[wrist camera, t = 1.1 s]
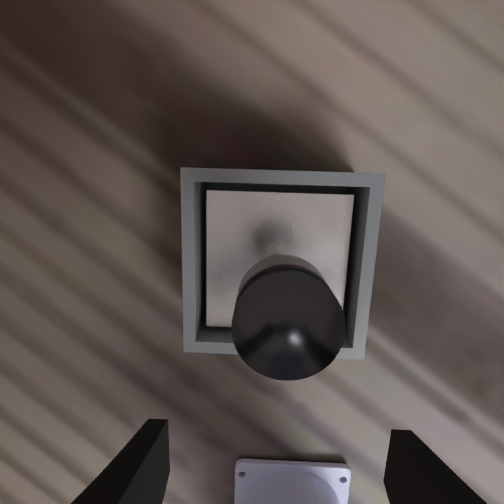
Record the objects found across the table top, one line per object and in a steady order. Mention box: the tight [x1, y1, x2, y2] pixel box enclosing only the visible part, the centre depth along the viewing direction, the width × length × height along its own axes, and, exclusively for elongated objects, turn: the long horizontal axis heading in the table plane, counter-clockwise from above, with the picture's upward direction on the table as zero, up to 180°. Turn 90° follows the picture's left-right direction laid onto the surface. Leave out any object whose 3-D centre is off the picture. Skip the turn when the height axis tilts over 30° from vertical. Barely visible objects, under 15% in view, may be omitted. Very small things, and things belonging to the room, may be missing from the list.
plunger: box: [207, 190, 354, 380], centre depth 13 cm, size 7×7×8 cm
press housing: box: [180, 167, 385, 360], centre depth 17 cm, size 9×9×4 cm
